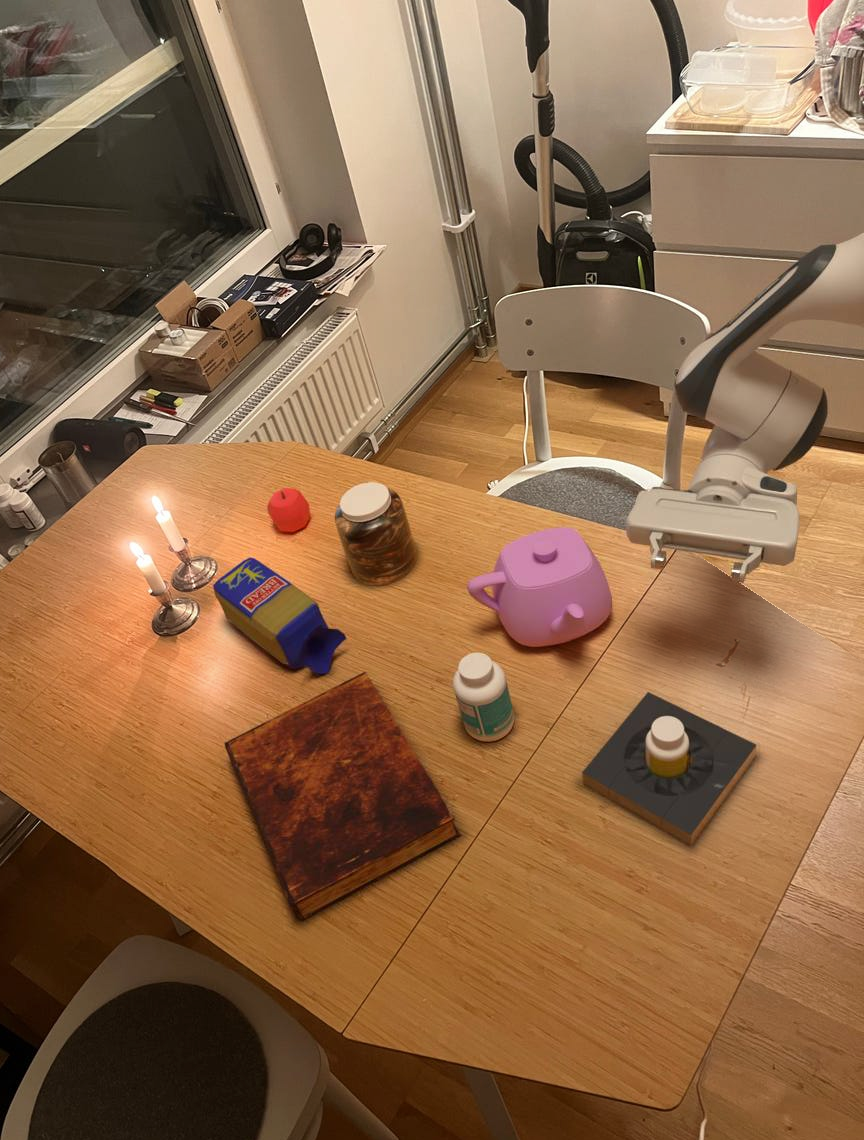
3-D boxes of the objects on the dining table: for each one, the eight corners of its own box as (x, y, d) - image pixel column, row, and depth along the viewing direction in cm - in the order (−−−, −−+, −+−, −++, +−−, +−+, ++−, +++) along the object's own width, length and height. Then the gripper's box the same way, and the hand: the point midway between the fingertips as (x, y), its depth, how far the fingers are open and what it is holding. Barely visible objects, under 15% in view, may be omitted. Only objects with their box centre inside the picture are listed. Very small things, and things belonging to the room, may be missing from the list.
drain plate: (755, 757, 121) (756, 744, 118) (690, 846, 115) (691, 834, 112) (648, 704, 130) (648, 691, 127) (583, 784, 124) (581, 772, 121)
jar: (365, 537, 167) (344, 473, 156) (425, 541, 162) (408, 476, 151) (343, 584, 160) (319, 520, 149) (404, 589, 156) (385, 525, 145)
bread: (268, 588, 164) (249, 547, 156) (355, 652, 149) (339, 610, 141) (224, 622, 160) (202, 582, 153) (309, 692, 146) (289, 650, 138)
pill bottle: (516, 702, 135) (505, 644, 125) (513, 744, 130) (500, 686, 121) (467, 702, 137) (451, 644, 127) (461, 743, 132) (445, 687, 123)
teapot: (464, 601, 151) (449, 534, 140) (587, 563, 150) (581, 493, 139) (504, 705, 135) (490, 639, 124) (641, 663, 135) (639, 593, 124)
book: (234, 761, 140) (223, 743, 136) (374, 690, 143) (366, 670, 139) (301, 922, 120) (289, 905, 116) (461, 836, 123) (455, 817, 119)
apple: (314, 506, 176) (302, 473, 170) (314, 533, 171) (302, 501, 165) (275, 514, 177) (261, 482, 171) (273, 542, 172) (260, 510, 166)
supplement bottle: (694, 781, 120) (696, 739, 113) (654, 792, 120) (654, 751, 113) (678, 749, 124) (680, 706, 117) (639, 759, 124) (638, 717, 117)
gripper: (641, 467, 119) (609, 540, 112) (811, 487, 110) (788, 567, 103) (642, 504, 124) (611, 575, 116) (805, 525, 115) (783, 604, 107)
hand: (696, 572), depth 109 cm, fingers open, 8 cm apart
